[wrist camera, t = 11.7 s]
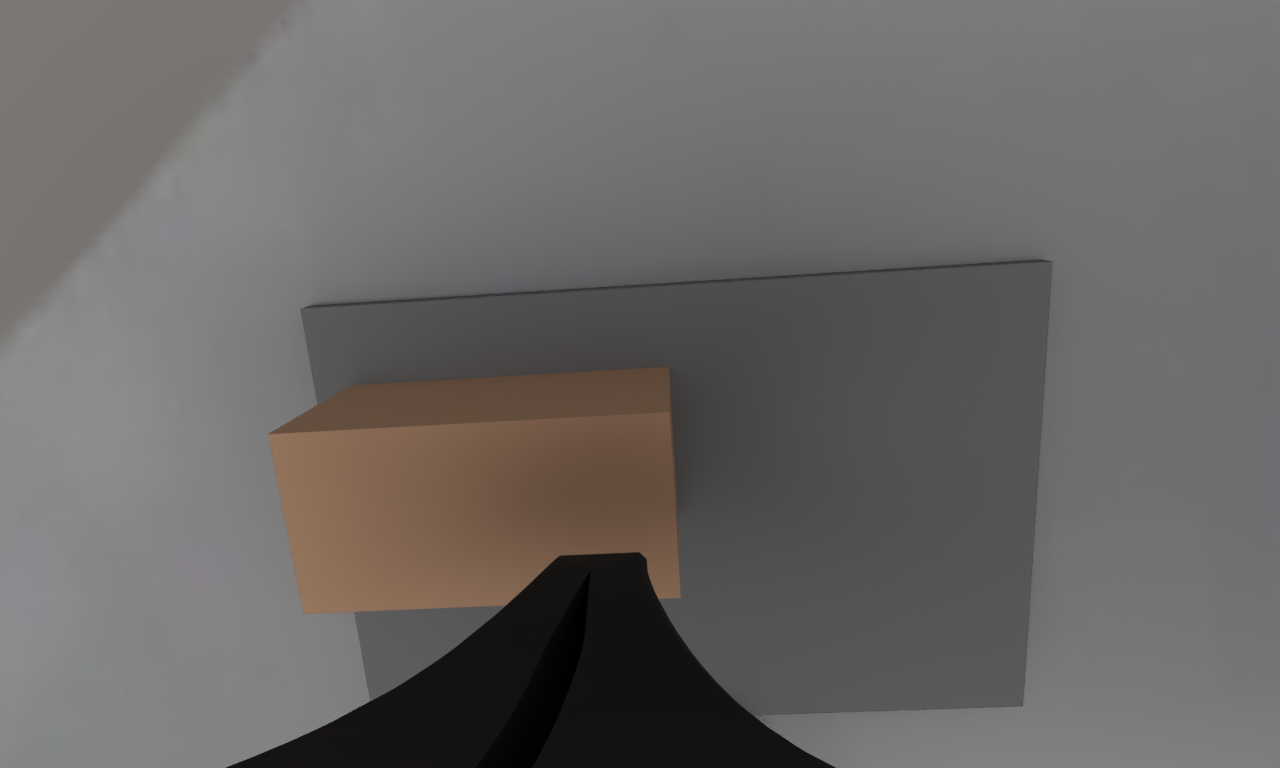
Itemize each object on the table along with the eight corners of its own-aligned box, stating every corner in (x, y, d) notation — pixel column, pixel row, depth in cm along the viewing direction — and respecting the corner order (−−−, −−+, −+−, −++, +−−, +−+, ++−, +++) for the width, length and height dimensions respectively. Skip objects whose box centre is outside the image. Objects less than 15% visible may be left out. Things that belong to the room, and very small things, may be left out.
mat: (1041, 259, 18) (1052, 261, 17) (1014, 694, 21) (1022, 706, 20) (310, 305, 19) (300, 308, 18) (381, 716, 22) (375, 727, 21)
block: (669, 411, 14) (267, 434, 15) (680, 598, 15) (303, 614, 16) (668, 366, 18) (351, 385, 19) (678, 517, 19) (375, 531, 20)
